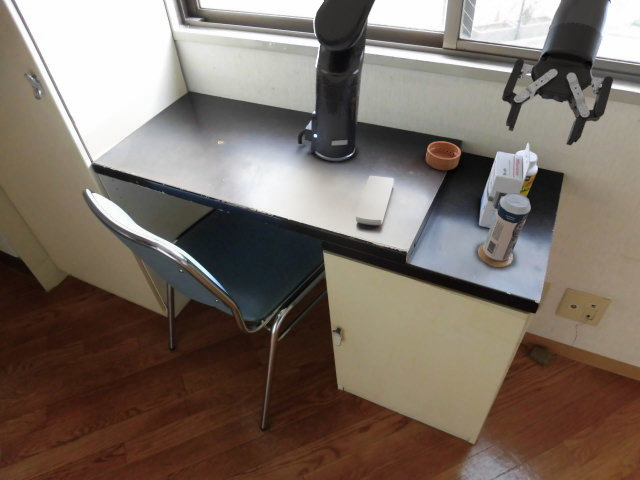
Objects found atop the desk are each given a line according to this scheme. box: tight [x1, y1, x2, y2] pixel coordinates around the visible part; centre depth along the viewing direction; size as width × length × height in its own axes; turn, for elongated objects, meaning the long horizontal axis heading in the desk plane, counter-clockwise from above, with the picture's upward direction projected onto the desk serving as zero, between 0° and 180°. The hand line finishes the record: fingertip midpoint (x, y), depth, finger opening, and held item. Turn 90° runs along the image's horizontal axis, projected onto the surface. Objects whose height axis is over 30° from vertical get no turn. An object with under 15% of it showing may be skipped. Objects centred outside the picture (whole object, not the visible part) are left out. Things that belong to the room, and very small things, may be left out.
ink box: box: [478, 142, 531, 229], centre depth 87 cm, size 9×5×15 cm, turn 163°
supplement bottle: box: [515, 149, 539, 198], centre depth 93 cm, size 6×6×10 cm
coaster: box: [477, 242, 514, 268], centre depth 84 cm, size 6×6×1 cm
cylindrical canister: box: [483, 193, 532, 261], centre depth 80 cm, size 5×5×12 cm
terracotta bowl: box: [424, 140, 462, 171], centre depth 105 cm, size 7×7×3 cm
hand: (539, 136), depth 71 cm, fingers open, 8 cm apart
